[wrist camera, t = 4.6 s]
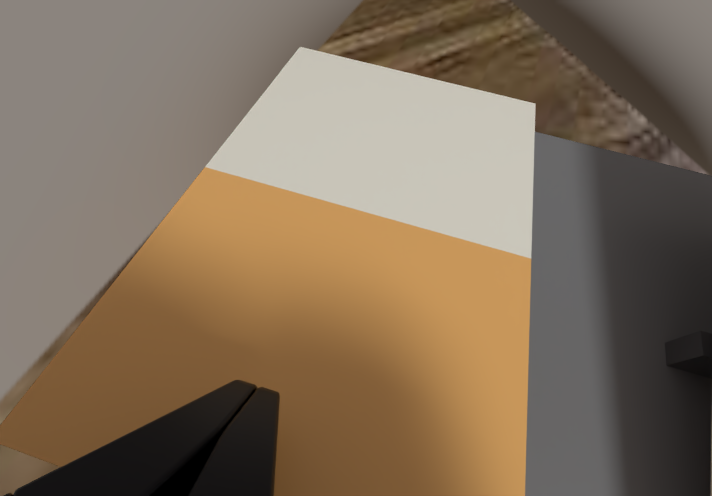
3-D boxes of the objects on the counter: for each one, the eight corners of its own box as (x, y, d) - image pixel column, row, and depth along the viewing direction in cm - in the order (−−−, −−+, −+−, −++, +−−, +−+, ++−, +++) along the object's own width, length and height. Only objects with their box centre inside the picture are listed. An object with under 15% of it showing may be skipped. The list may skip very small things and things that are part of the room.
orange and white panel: (490, 625, 8) (521, 640, 6) (31, 453, 9) (-11, 439, 7) (520, 132, 17) (535, 103, 16) (300, 77, 18) (300, 46, 17)
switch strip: (850, 719, 14) (1403, 1004, 7) (158, 465, 17) (21, 474, 10) (764, 291, 22) (979, 209, 15) (301, 165, 25) (286, 42, 18)
